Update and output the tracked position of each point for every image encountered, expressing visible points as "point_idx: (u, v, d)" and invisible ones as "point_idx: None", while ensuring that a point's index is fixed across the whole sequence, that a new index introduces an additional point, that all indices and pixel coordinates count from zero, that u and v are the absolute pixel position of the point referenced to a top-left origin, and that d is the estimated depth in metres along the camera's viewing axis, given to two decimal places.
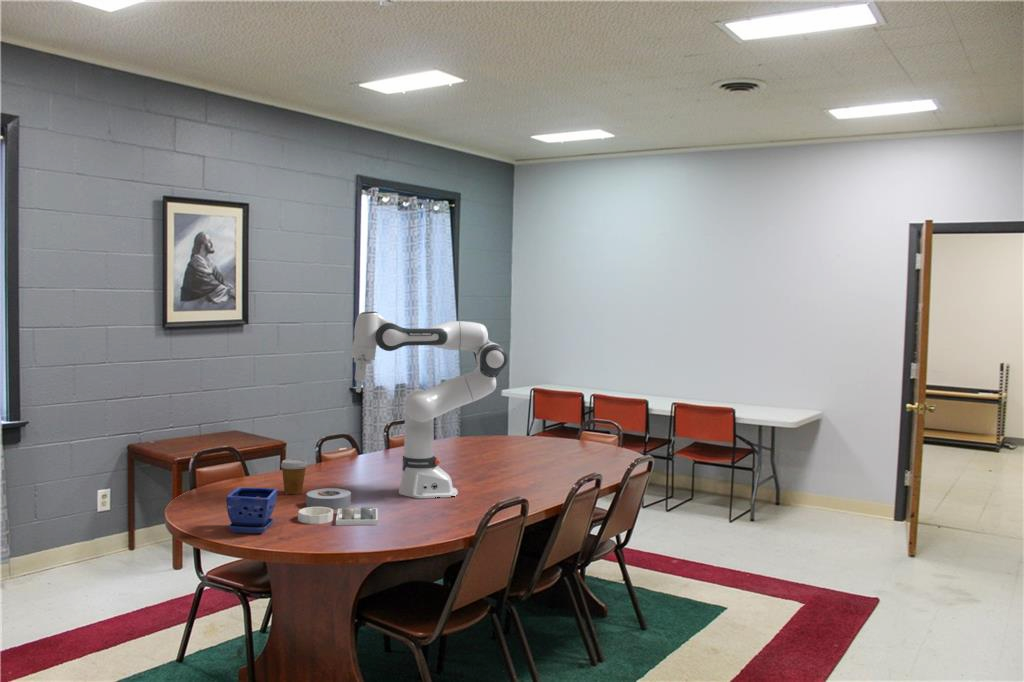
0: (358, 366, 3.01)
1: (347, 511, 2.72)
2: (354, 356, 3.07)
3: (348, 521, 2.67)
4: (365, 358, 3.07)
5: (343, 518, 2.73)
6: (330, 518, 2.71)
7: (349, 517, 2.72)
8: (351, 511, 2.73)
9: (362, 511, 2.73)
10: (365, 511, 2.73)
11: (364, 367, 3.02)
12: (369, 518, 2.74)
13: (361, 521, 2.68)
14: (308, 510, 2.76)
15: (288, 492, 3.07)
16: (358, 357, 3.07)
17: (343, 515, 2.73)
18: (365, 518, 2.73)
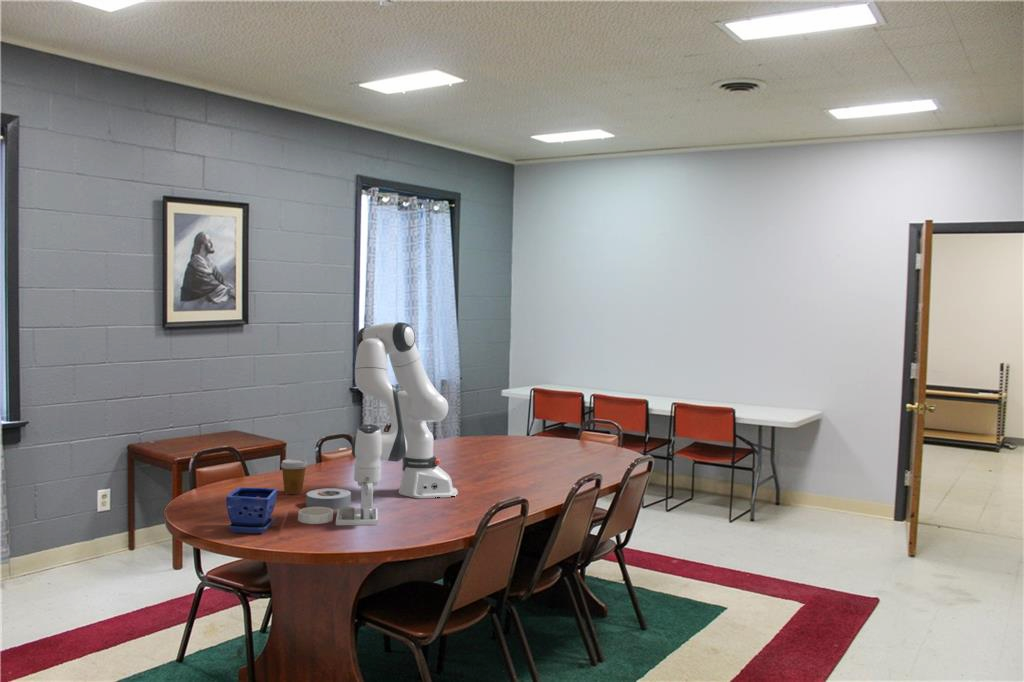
0: (363, 493, 2.65)
1: (347, 511, 2.72)
2: (357, 480, 2.71)
3: (348, 521, 2.67)
4: (370, 481, 2.71)
5: (343, 518, 2.73)
6: (330, 518, 2.71)
7: (349, 517, 2.72)
8: (351, 511, 2.73)
9: (362, 511, 2.73)
10: None
11: (370, 493, 2.65)
12: (369, 518, 2.74)
13: (361, 521, 2.68)
14: (308, 510, 2.76)
15: (288, 492, 3.07)
16: (362, 481, 2.70)
17: (343, 515, 2.73)
18: None
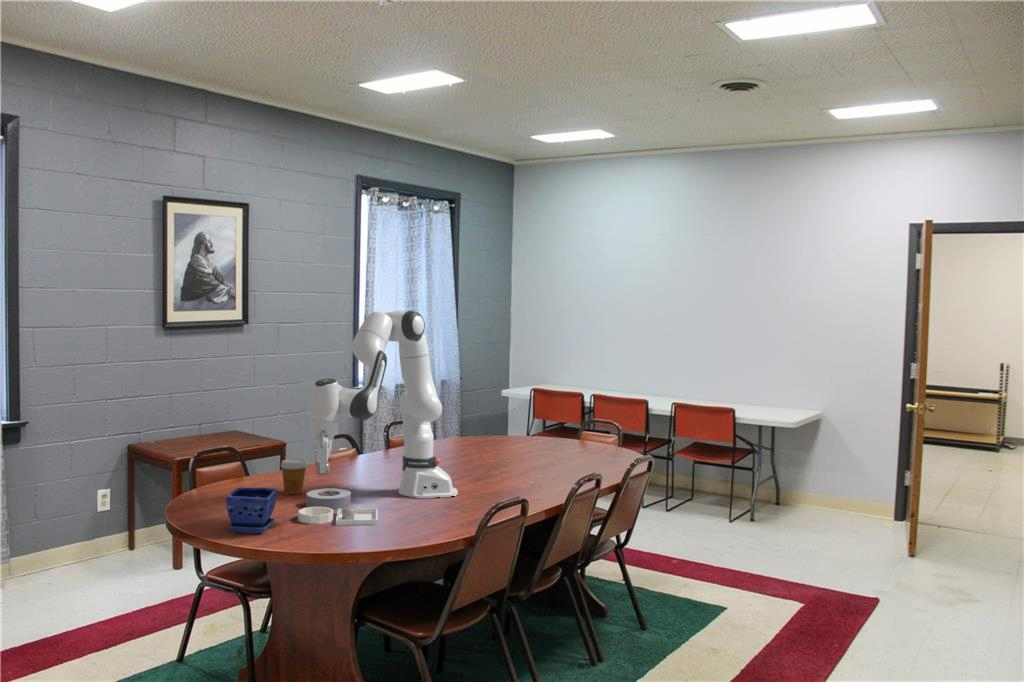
0: (318, 446, 2.62)
1: (347, 511, 2.72)
2: (313, 433, 2.68)
3: (348, 521, 2.67)
4: (326, 434, 2.67)
5: (343, 518, 2.73)
6: (330, 518, 2.71)
7: (349, 517, 2.72)
8: (351, 511, 2.73)
9: (318, 465, 2.70)
10: None
11: (325, 446, 2.62)
12: (325, 472, 2.71)
13: (361, 521, 2.68)
14: (308, 510, 2.76)
15: (288, 492, 3.07)
16: (318, 434, 2.67)
17: (343, 515, 2.73)
18: None
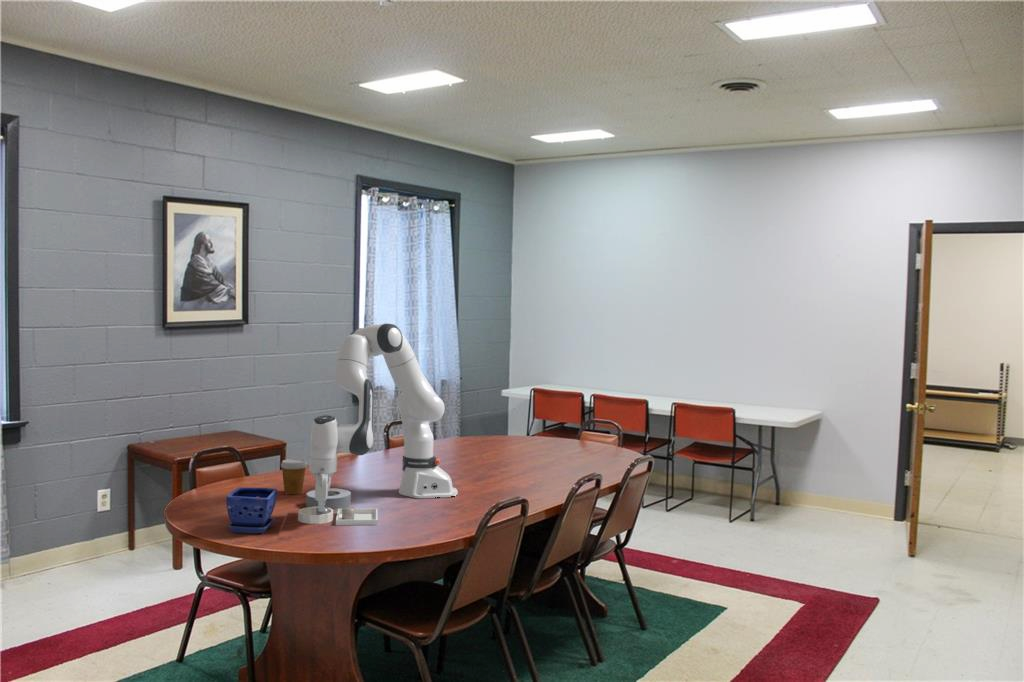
0: (317, 484, 2.63)
1: (347, 511, 2.72)
2: (313, 471, 2.69)
3: (348, 521, 2.67)
4: (325, 472, 2.68)
5: (343, 518, 2.73)
6: (330, 518, 2.71)
7: (349, 517, 2.72)
8: (351, 511, 2.73)
9: (317, 511, 2.71)
10: None
11: (324, 484, 2.63)
12: None
13: (361, 521, 2.68)
14: (308, 510, 2.76)
15: (288, 492, 3.07)
16: (317, 472, 2.68)
17: (343, 515, 2.73)
18: None
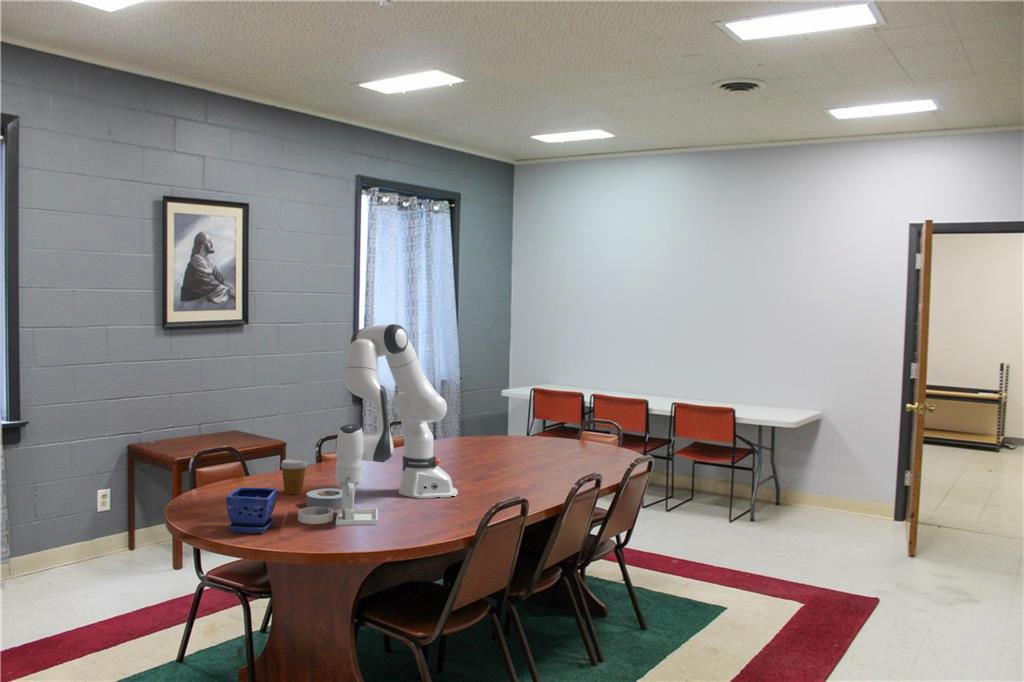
0: (344, 493, 2.64)
1: None
2: (339, 480, 2.70)
3: (348, 521, 2.67)
4: (351, 481, 2.70)
5: (343, 518, 2.73)
6: (330, 518, 2.71)
7: None
8: (351, 511, 2.73)
9: (317, 511, 2.71)
10: (320, 511, 2.71)
11: (351, 493, 2.64)
12: None
13: (361, 521, 2.68)
14: (308, 510, 2.76)
15: (288, 492, 3.07)
16: (343, 481, 2.69)
17: (343, 515, 2.73)
18: None
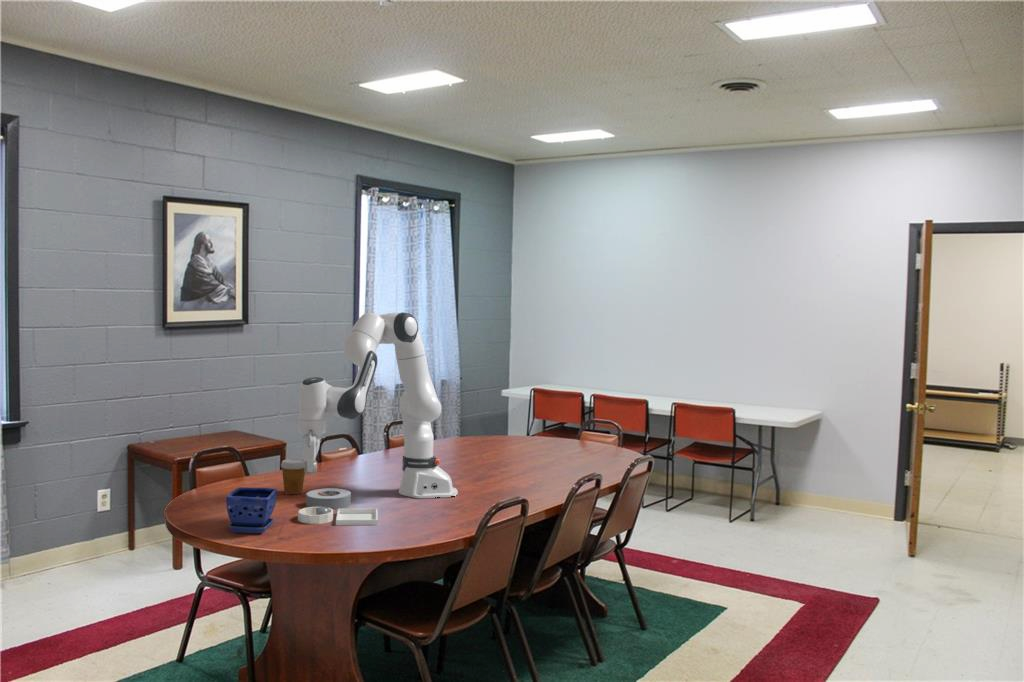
0: (305, 445, 2.61)
1: None
2: (301, 432, 2.67)
3: (348, 521, 2.67)
4: (314, 433, 2.67)
5: (305, 471, 2.70)
6: (330, 518, 2.71)
7: None
8: (313, 464, 2.70)
9: (317, 511, 2.71)
10: (320, 511, 2.71)
11: (312, 445, 2.62)
12: None
13: (361, 521, 2.68)
14: (308, 510, 2.76)
15: (288, 492, 3.07)
16: (305, 433, 2.67)
17: (305, 468, 2.70)
18: None
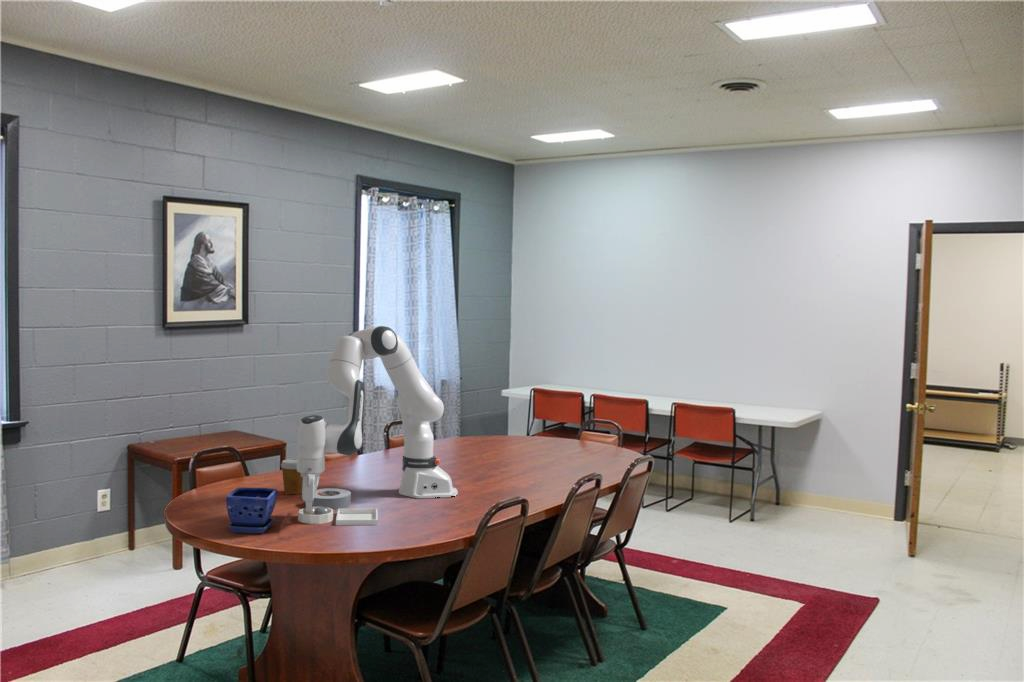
0: (304, 484, 2.62)
1: (308, 511, 2.70)
2: (300, 471, 2.68)
3: (348, 521, 2.67)
4: (312, 472, 2.67)
5: None
6: (330, 518, 2.71)
7: None
8: (312, 511, 2.71)
9: (317, 511, 2.71)
10: (320, 511, 2.71)
11: (311, 484, 2.62)
12: None
13: (361, 521, 2.68)
14: None
15: (288, 492, 3.07)
16: (304, 472, 2.67)
17: None
18: None
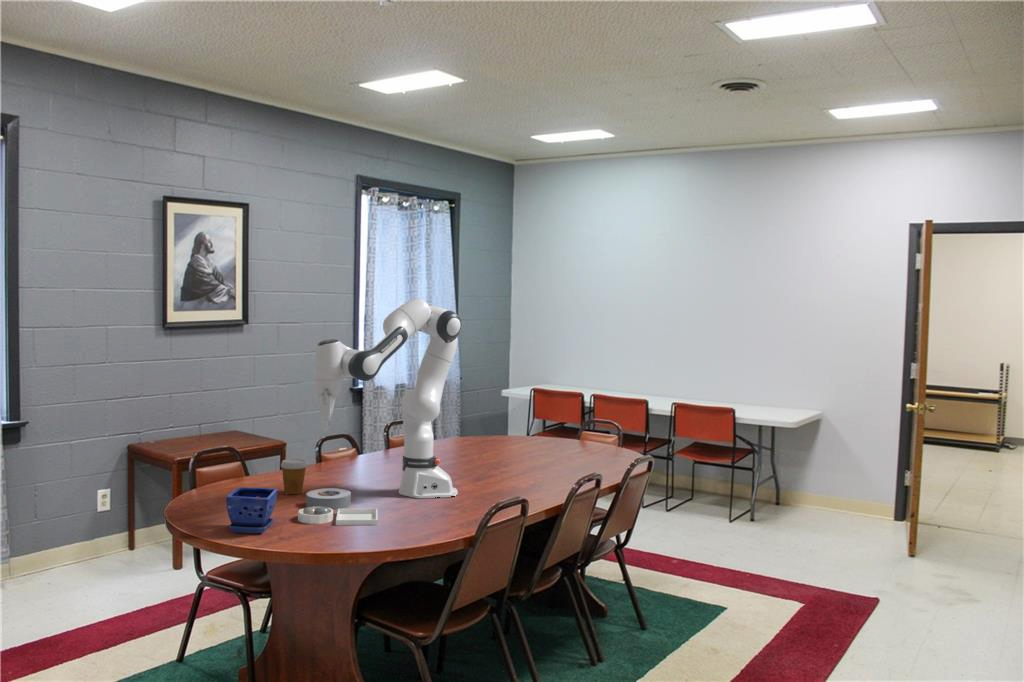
0: (322, 402, 2.73)
1: (308, 511, 2.70)
2: (317, 391, 2.79)
3: (348, 521, 2.67)
4: (329, 392, 2.78)
5: None
6: (330, 518, 2.71)
7: None
8: (312, 511, 2.71)
9: (317, 511, 2.71)
10: (320, 511, 2.71)
11: (328, 403, 2.73)
12: None
13: (361, 521, 2.68)
14: None
15: (288, 492, 3.07)
16: (321, 392, 2.78)
17: None
18: None
